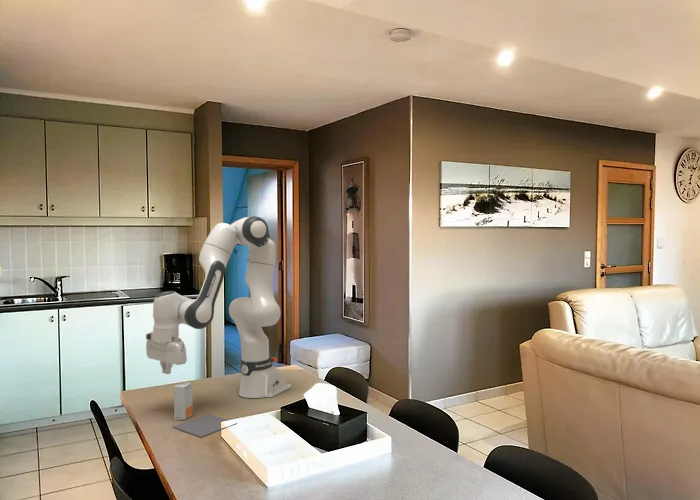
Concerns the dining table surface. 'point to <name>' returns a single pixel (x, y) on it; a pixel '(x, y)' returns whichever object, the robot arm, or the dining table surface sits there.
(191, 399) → the skincare box
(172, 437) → the dining table surface
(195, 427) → the mat
